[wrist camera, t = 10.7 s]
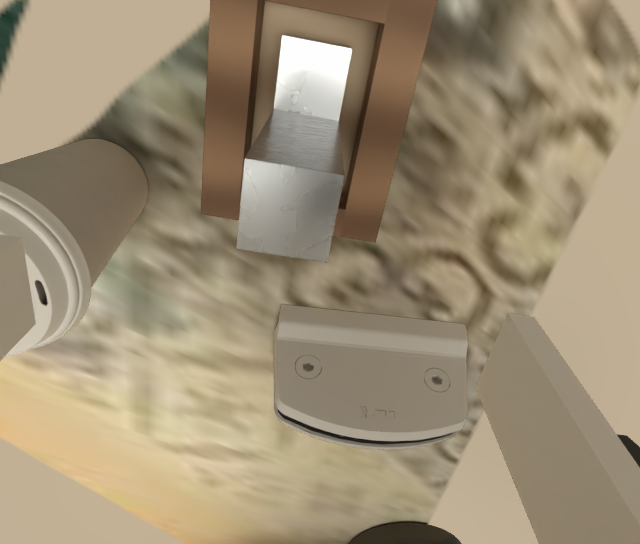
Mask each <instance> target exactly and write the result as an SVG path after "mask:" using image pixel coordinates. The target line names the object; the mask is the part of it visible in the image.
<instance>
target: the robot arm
mask: <svg viewBox="0 0 640 544" xmlns="http://www.w3.org/2000/svg"><path fill="white" fill-rule="evenodd" d="M35 324H36V321H35V315H34V309H33V302H32V296H31V290H30V283H29V277H28V271H27V265H26V258H25V252H24V246H23V240H22V238H21V237H14V236H8V235H2V234H0V361H1V360H2V359H3V357H4V356H5V355H6V354H7V353H8V352H9V351H10V350H11V349H12V348H13V347H14V346H15V345H16V344H17V343H18V342H19V341H20V340H21V339H22V338H23V337H24V336H25V335H26V334H27V333H28V332H29V331H30V330H31V329H32V327H33V326H34V325H35ZM475 387H476V390H477V392H478V395H479V397H480V400H481V402H482V405H483V407H484V410H485V412H486V414H487V417H488V419H489V422H490V424H491V427H492V429H493V432H494V434H495V437H496V439H497V442H498V444H499V447H500V449H501V451H502V454H503V456H504V459H505V461H506V464H507V466H508V469H509V471H510V474H511V476H512V479H513V481H514V484H515V486H516V488H517V491H518V493H519V496H520V498H521V501H522V503H523V506H524V508H525V511H526V513H527V516H528V518H529V520H530V523H531V525H532V528H533V530H534V533H535V535H536V538H537V540H538V543H539V544H640V447H639V446H638V445H637V444H635V443H634V442H633V441H632V440H631V439H630V438H629V437H628V436H624V435H617V434H616V433H615V432H614V430H613V429H612V427H611V426H610V425H609V423H608V422H607V420H606V419H605V418H604V416H603V414H602V413H601V412H600V410H599V409H598V407H597V406H596V405H595V403H594V402H593V400H592V399H591V397H590V396H589V395H588V393H587V392H586V390H585V389H584V387H583V386H582V385H581V383H580V382H579V380H578V379H577V377H576V376H575V375H574V373H573V372H572V370H571V369H570V367H569V366H568V365H567V363H566V362H565V360H564V359H563V357H562V356H561V355H560V353H559V352H558V350H557V349H556V348H555V346H554V345H553V343H552V342H551V340H550V339H549V338H548V336H547V335H546V333H545V332H544V330H543V329H542V327H541V326H540V325H539V324H538V322H537V321H536V319H535V318H534V317H530V316H524V315H517V314H511V313H508V314H507V317H506V319H505V321H504V323H503V325H502V328H501V330H500V332H499V334H498V337H497V339H496V341H495V343H494V346H493V348H492V350H491V352H490V355H489V357H488V359H487V361H486V364H485V366H484V368H483V370H482V373H481V375H480V377H479V379H478V381H477V384H476V386H475ZM349 544H461V542H460V541H459V540H458V539H457V538H456V537H455V536H454V535H452V534H451V533H449V532H447V531H445V530H443V529H441V528H438V527H435V526H431V525H427V524H421V523H394V524H388V525H383V526H379V527H376V528H373V529H370V530H368V531H366V532H364V533H362V534H360V535H358V536H357V537H356V538H354V539H353V540H352V541H351V542H350V543H349Z"/></svg>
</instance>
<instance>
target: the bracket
mask: <svg viewBox="0 0 640 544" xmlns="http://www.w3.org/2000/svg"><path fill="white" fill-rule="evenodd" d="M351 53H352V48H351V47H350V46H347V45H342V44H337V43H332V42H327V41H322V40H316V39H311V38H306V37H301V36H296V35H290V34H285V35H282V42H281V51H280V59H279V68H278V76H277V85H276V94H275V102H274V109H273V111H272V113H271V114H270V116H269V118H268V120H267V121H266V123H265V125H264V126H263V128H262V130H261V131H260V133H259V135H258V137H257V138H256V140H255V142H254V143H253V145H252V147H251V148H250V150H249V152H248V154H247V155H246V157H245V160H244V171H243V182H242V193H241V204H240V215H239V226H238V237H237V249H243V250H249V251H256V252H262V253H268V254H275V255H281V256H287V257H294V258H300V259H306V260H313V261H319V262H325V263H327V260H328V255H329V251H330V246H331V241H332V236H333V231H334V226H335V221H336V216H337V211H338V206H339V201H340V196H341V192H342V187H343V182H344V177H345V173H344V164H343V155H342V146H341V136H340V127H339V117H340V112H341V107H342V101H343V96H344V90H345V85H346V80H347V74H348V69H349V63H350V58H351Z"/></svg>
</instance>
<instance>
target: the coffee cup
mask: <svg viewBox="0 0 640 544" xmlns="http://www.w3.org/2000/svg"><path fill="white" fill-rule="evenodd" d="M147 199H148V183H147V179H146V176H145V173H144V171H143V169H142V168H141V166H140V164H139V163H138V162H137V160H136V159H135V158H134V157H133V156H132V155H131V154H130V153H129V152H127V151H126V150H125V149H123V148H122V147H120V146H118V145H117V144H114V143H112V142H109V141H106V140H102V139H85V140H81V141H77V142H74V143H71V144H67V145H64V146H61V147H57V148H54V149H51V150H48V151H44V152H41V153H38V154H34V155H31V156H28V157H24V158H21V159H18V160H14V161H11V162H8V163H4V164H1V165H0V234H2V235H8V236H14V237H21V238H22V240H23V246H24V252H25V258H26V265H27V271H28V277H29V283H30V290H31V296H32V302H33V309H34V315H35V321H36V324H35V325H34V326H33V327H32V329H31V330H30V331H29V332H28V333H27V334H26V335H25V336H24V337H23V338H22V339H21V340H20V341H19V342H18V343H17V344H16V345H15V346H14V347H13V348H12V349H11V350H10V351H9V352H8V353H7V354H6V355H5V356H11V355H15V354H19V353H21V352H24V351H26V350H30V349H34V348H38V347H41V346H43V345H46V344H48V343H51V342H53V341H55V340H57V339H58V338H60V337H62V336H63V335H65V334H66V333H68V332H69V331H71V330H72V329H73V328H74V327H75V326H76V325H77V324H78V323H79V322H80V321H81V319H82V318H83V316H84V315H85V313H86V311H87V308H88V305H89V302H90V297H91V287H92V286H93V284H94V283H95V281H96V280H97V278H98V277H99V275H100V274H101V272H102V270H103V269H104V267H105V266H106V264H107V263H108V261H109V260H110V258H111V257H112V255H113V254H114V252H115V251H116V249H117V248H118V246H119V245H120V243H121V242H122V240H123V239H124V237H125V236H126V234H127V233H128V231H129V230H130V228H131V227H132V226H133V224H134V223H135V221H136V220H137V218H138V217H139V215H140V214H141V212H142V211H143V209H144V207H145V205H146V203H147ZM5 356H4V357H5Z"/></svg>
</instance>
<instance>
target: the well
mask: <svg viewBox="0 0 640 544" xmlns="http://www.w3.org/2000/svg"><path fill="white" fill-rule="evenodd" d="M210 1H211V2H210V22H209V44H208V66H207V88H206V110H205V132H204V154H203V176H202V198H201V214H203V215H209V216H216V217H222V218H228V219H234V220H239V215H240V204H241V193H242V182H243V171H244V160H245V157H246V155H247V154H248V152H249V150H250V148H251V147H252V145H253V143H254V142H255V140H256V138H257V137H258V135H259V133H260V131H261V130H262V128H263V126H264V125H265V123H266V121H267V120H268V118H269V116H270V114H271V113H272V111H273V109H274V102H275V94H276V85H277V76H278V68H279V59H280V51H281V42H282V35H285V34H290V35H296V36H301V37H306V38H311V39H316V40H322V41H327V42H332V43H337V44H342V45H347V46H350V47H351V48H352V53H351V58H350V63H349V69H348V74H347V80H346V85H345V90H344V96H343V101H342V107H341V112H340V117H339V127H340V136H341V146H342V155H343V164H344V173H345V177H344V182H343V187H342V192H341V196H340V201H339V206H338V211H337V216H336V221H335V226H334V231H333V236H339V237H345V238H351V239H357V240H363V241H370V242H376V239H377V235H378V231H379V227H380V223H381V219H382V215H383V211H384V207H385V203H386V199H387V196H388V192H389V188H390V184H391V180H392V176H393V172H394V168H395V164H396V160H397V156H398V153H399V149H400V145H401V141H402V137H403V133H404V129H405V125H406V121H407V117H408V113H409V109H410V106H411V102H412V98H413V94H414V90H415V86H416V82H417V78H418V74H419V70H420V66H421V63H422V59H423V55H424V51H425V47H426V43H427V39H428V35H429V31H430V27H431V23H432V20H433V16H434V12H435V8H436V4H437V0H210Z"/></svg>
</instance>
